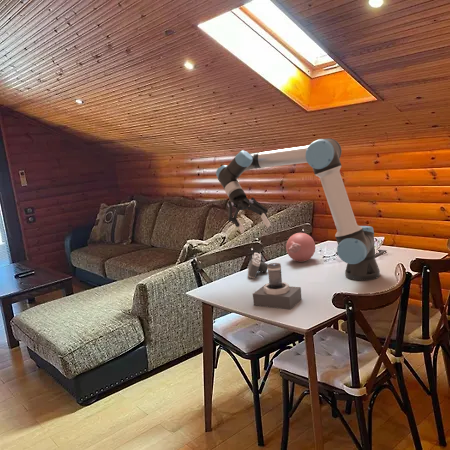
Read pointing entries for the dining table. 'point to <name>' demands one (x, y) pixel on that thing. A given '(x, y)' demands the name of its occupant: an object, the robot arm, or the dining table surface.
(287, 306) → the grey block socket
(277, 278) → the lens
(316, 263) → the dining table surface
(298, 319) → the dining table surface
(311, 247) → the pink star-marked ball
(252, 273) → the camera
